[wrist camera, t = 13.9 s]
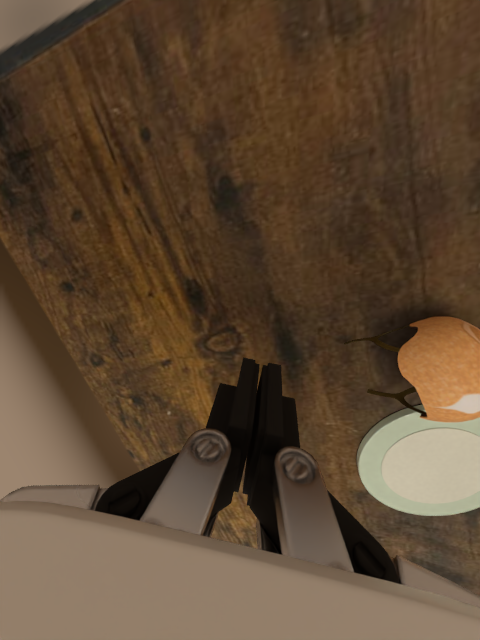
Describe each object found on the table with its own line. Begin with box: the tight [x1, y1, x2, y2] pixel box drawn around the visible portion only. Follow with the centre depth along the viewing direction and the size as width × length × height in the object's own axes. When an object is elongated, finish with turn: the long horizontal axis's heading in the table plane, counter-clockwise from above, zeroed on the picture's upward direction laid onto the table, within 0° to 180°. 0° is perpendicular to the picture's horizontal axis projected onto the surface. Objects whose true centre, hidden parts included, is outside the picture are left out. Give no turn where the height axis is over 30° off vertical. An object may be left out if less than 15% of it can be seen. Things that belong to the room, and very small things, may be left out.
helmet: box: [345, 316, 480, 422], centre depth 17 cm, size 6×7×8 cm
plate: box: [357, 404, 480, 516], centre depth 22 cm, size 12×12×1 cm
